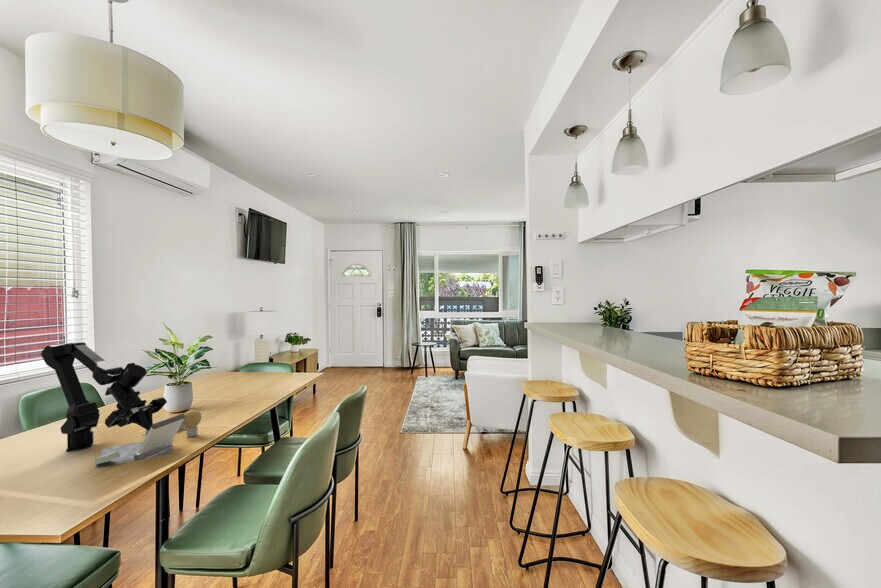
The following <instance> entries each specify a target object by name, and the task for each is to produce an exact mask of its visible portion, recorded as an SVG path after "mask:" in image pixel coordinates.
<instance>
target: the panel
mask: <svg viewBox="0 0 881 588" xmlns="http://www.w3.org/2000/svg"><path fill="white" fill-rule="evenodd" d="M143 442H144V440H143V441H136V442H132V443H126V444H121V445H116V446H108V447H104V448H101V450H100V453H99V455H98V457H101V456H103V455H106V454H109V453H113V452H118V451H119V454H120V457H118V458H115V459H113V460H111V461H108V462H104V463H100V464H95V468H94V469H101V468H105V467H106V468H107V467H111V466H116V465H120V464H121V465H122V464H126V463H131V462H136V461H141V460H147V459H152V458H156V457H162V456H166V455H171V454H173V448H172V445H173V441H171V442H168V443H166V444H164V445H161V446H159V447H156V448H154V449H152V450H149V451H147V452H144V453H142V454H140V453H139V452H138V451H139V449H140V447H141V446H142V444H143Z"/></svg>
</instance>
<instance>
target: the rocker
mask: <svg viewBox="0 0 881 588" xmlns="http://www.w3.org/2000/svg"><path fill="white" fill-rule="evenodd" d="M118 457H120V454H119V451H118V452H113V453H109V454H106V455H103V456H101V457H99V456H98V457H96V458H94V459H93V460H94V463H95V464H94V465H97V464H100V463H104V462H108V461H111V460H113V459H115V458H118Z"/></svg>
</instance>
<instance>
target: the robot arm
mask: <svg viewBox="0 0 881 588" xmlns="http://www.w3.org/2000/svg"><path fill="white" fill-rule="evenodd" d="M40 354H41V355H40V356H41V358H42V359H43V361H44V363H45V365H46V366H48V367H49V368H51V369H53V370H54V371H55V374H56V377H57V379H58V381H59V383H60V386H61V389H62V392H63V394H64V398H65V399H66V403H67V405H68V408H67V411H66V413H65V417H66V421H65V422H64V423H63V424H62V425H61V426H60V431H61V434H63V435H64V434H65V435H67V436H66V437H67V444H66V445H67V446H66V447H67V448H66V452H72V451H77V450H78V451H79V450H83V449H89V448H91V447H92V445H93V444H94V442H95V440H94V439H95V437H94V436H95V435H94V433H95V432H94V431H93V428H97V427H98V423H99V420H100V414H101V413H100V409H98V405H97V403H96V401H92V402H91V401H89V400H88V399H87V397H86V395H85V392H84V390H83V387H82V384H81V382H80V379H79V377H78V373H77V372H76V369H75V367H74V362H75V360H77V361H79V362H80V363H81V364H82V365H84V366H85V367H86V368H87V369H88V370H89V371H91V372H92V378H93V379H94V380H95V382H96V383H97V384H98V385H100V386H105V385H110V384H111V385H110V386H108V387H106V390H105V393H104V395H105V396H110V395H111V396H112V397H113V398H114V399H115V401H116V402H117V403H116V405H115V406H116V410H112V411H111V413H109V415H108V416H107V417H106V418H105V419H104V424H105V426H106V427H107V428H108V429H109V428H112V427H113V428H114V427H116V426H118V427H119V428H122V427H124V426H127V425H130V424H136V425H138V426H140V427H141V428H143V429H145V430H146V429H147V430H148V431H149V430H150V428H151V425H152V424H154V423H153V414H156V413H159V412H160V411H161V410H162V408H163V407H164V406H165V405H166V403H168V401H167V399H165V397H158V398H155V399H151V401H150V402H149V403H148V404H147V405H146V403H147V400H146V399H143V400H142V399H141V398H140V394H141V392H140V391H139V390H138V391H136V390H135V388H134V387H137V386H138V384H139V383H140V382H141V381H142V380H143V379H144V378H145V376H146V375H147V374H148V372H147V369H146V367H143V366H142V365H139V364H135V362H129V363H128V364H127V365H126V366H125V367H124V368H123V367H122V366H121V365H119V364H116V363H115V362H114V363H113V362H109V361H107V360H105V359H104V358H102V357H101V356H100V355H99V354H97V353H96V352H95V351H93V350H92V349H91V348H90V347H89V346H87V344H86V342H84V341H72V342H70V341H69V342H67V343H61V344H52V345H46V346H45V347H44V348H43V349H42V350H41V353H40Z"/></svg>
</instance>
